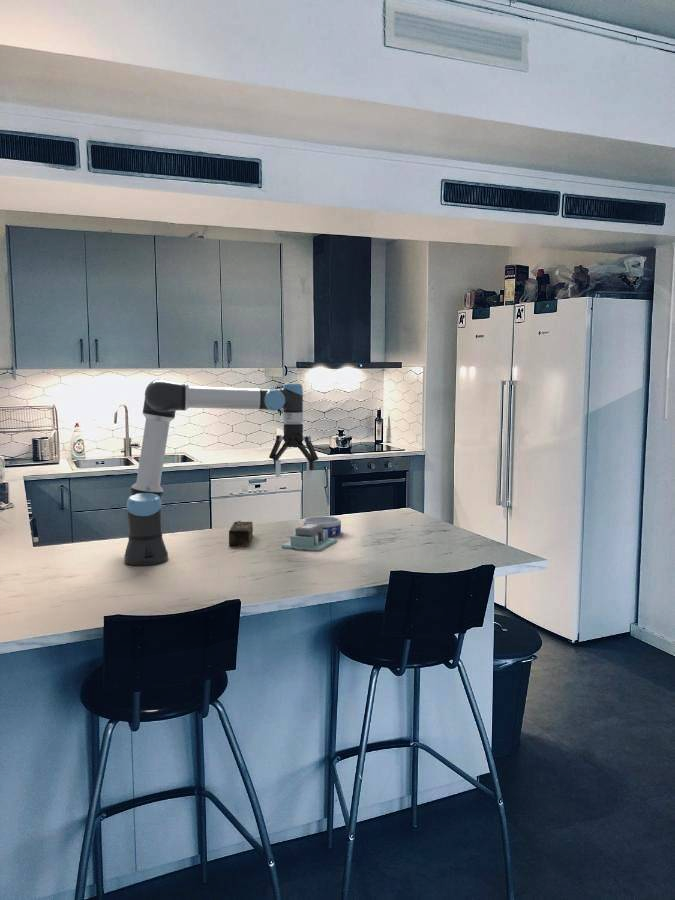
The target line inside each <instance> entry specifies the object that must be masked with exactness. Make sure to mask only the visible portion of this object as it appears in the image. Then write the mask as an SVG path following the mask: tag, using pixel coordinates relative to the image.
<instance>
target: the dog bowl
mask: <svg viewBox="0 0 675 900" xmlns="http://www.w3.org/2000/svg"><path fill="white" fill-rule="evenodd" d="M308 523H309V524H320V525H323V530H328V538H334V537H335V538H336V537H338V536H339V535H341V532H342V531H341V530H342V529H341V528H342V519H340V518H339V517H338V516H337V517H336V516H328V515H320V516H319V515H317V516H309V517H307V518H304V519H303V525H306V524H308Z"/></svg>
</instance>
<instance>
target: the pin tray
mask: <svg viewBox="0 0 675 900" xmlns="http://www.w3.org/2000/svg"><path fill="white" fill-rule="evenodd" d="M336 542H338V538H332V537H328V530H323V532H322V541H320V542H318V536H315V544H314V537H306V536H296V533H292V535H290V540H289V541H287V542H285V543H282V544H281V548H282V547H283V548H282V549H291V548H295V550H302V549H307V550H306V551H313V550H316V551H315V552H321V551H322V550H325V549H326V547H327V548H328V547H330V546H331V545H333V544H335V543H336Z"/></svg>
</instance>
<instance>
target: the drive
mask: <svg viewBox="0 0 675 900" xmlns="http://www.w3.org/2000/svg"><path fill="white" fill-rule="evenodd" d="M322 532H323V525H320V524H309V523H308V524H306V525H304V524H303V525H301V526H298V527H296V528H295V534H296V536H306V537H314V544H315V536H318V542H320V541H322Z"/></svg>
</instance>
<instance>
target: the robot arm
mask: <svg viewBox="0 0 675 900" xmlns="http://www.w3.org/2000/svg"><path fill="white" fill-rule="evenodd" d="M303 396H304V394H303V385H302V383H297V382H296V383H291V382H290V383H288V382H287V383H283V385H282V388H281V387H280V388H261V387H260V388H244V387H240V388H239V387H221V386H220V387H217V386H216V387H215V386H192V385H191V386H190V385H188V384H187V383H184V382H181V383H180V382H174V381H170V380H169V379H165V378H163V379H162V378H156V379H154V380H153V381H151V382H149V384H148V385H147V386H146V388H145V391H144V400H143V401H144V402H143V407H142V415H143V416H144V417H145V422H144V423H145V424H144V430H143V435H142V436H143V437H142V444H141V450H140V456H139V462H138V469H137V475H136V476H137V477H136V482H135V483H134V484H131V486H130V494H129V497H128V498H127V500H126V510H127V511H126V512H127V513H126V514H127V515H126V516H127V531H128V532H127V533H128V534H127V535H128V542H127V545H126V549H125V554H124V557H123V559H124V561H123V562H124V564H125V563H126V565H128V564H129V565H128V566H133V565H136V566H135V567H137V566H138V567H147V566H154V565H159V564H163V563H164V562H167V561H168V560H169V551H168V550H167V547H166V544H165V541H164V539H163V523H162V522H163V521H162V519H163V518H162V505H163V504H162V502H163V495H164V489H163V487H162V486H161V481H162V474H163V469H164V468H163V467H164V462H165V461H164V460H165V454H166V449H167V442H168V437H169V436H168V434H169V430H170V429H169V428H170V422H172V421H173V420H174V419H175V417H176V413H177V412H176V411H185V412H186V411H187V410H188V409H189V408H190V409H223V410H224V409H225V410H226V409H228V410H230V409H231V410H260V411H261V410H262V411H263V410H264V411H266V410H268V411H279V410H280V409H283V423H284V424H283V435H282V434H278V435H276V436H275V437H276V438H275V442H274V444H273V447H272V449H271V452H270V454H269V456H268V458H269V459H272V460H273V469H275V478H280V477H281V476H282V474H281V473H282V470H281V468H282V466H281V459H280V458H281V457H282V455H283V454H284V453H285V452H286V450H287V449H288V448H294V449H295V448H297V449H298V450H300V452H301V453H302V455H303V456H304V457H305V458H306V460H307V462H306V480H310V479H312V474H313V472H312V471H313V470H314V469H315V467H314V462H316V461H318V460H319V456H318V455H317V452H316V450H315V448H314V446H313V443H312V438H311V436H310V435H307V436H304V435H303V433H304V425H303V422H304V413H303V412H304V409H303V408H304V406H303V405H304V401H303V400H304V399H303V398H304V397H303ZM282 441H283V444H282V446H281V443H282ZM303 442H305V445H306V447H307V448H306V447H305V445H304V443H303ZM280 446H281V448H280Z"/></svg>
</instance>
